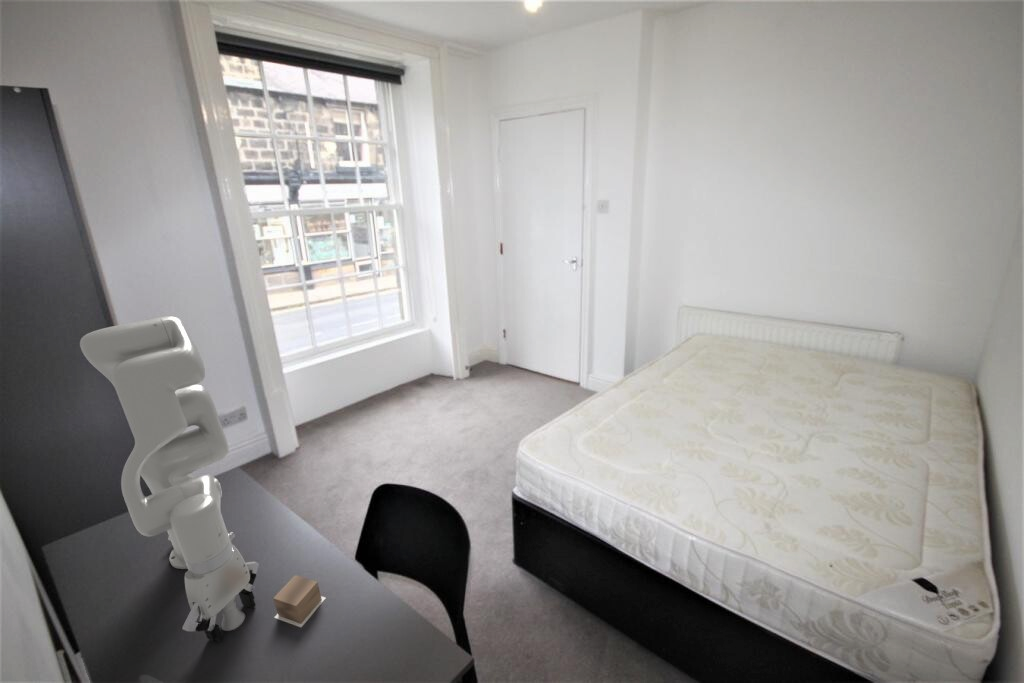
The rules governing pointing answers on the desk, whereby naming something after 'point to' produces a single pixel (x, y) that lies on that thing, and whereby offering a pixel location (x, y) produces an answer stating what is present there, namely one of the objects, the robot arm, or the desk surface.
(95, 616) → the desk surface
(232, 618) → the rook chess piece
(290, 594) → the walnut block
